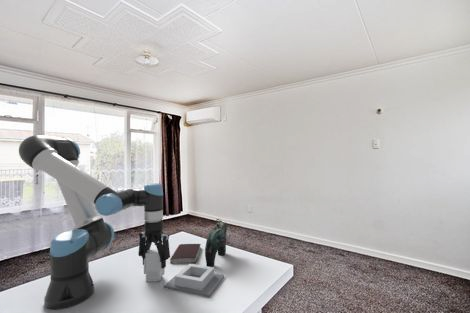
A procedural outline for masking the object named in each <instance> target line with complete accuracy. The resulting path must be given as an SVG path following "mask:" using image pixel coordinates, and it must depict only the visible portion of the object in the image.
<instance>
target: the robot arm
mask: <svg viewBox="0 0 470 313" xmlns="http://www.w3.org/2000/svg"><path fill="white" fill-rule="evenodd" d="M18 146H19V147H18V155H19V157H20V159H21V160H22V161H23V162H24V163H25V164H26V165H28V166H29V167H30V168H32V169H34V170H36V171H41V172H44V173H45V174H46V175H48V176H50V177H52V178H54V179H55V180H56V181H57V182H56V183H57V184H58V187H59V189H60V191H61V194H62V197H63V199H64V201H65V204H66V206H67V209H68V211H69V214H70V216H71V219H72V220H73V222H74V226H73V228H72V229H71V230H69V231H64V232H61V233H59V234H57V235H56V236H55V237H54V238H53V239H52V240H51V242H50V249H49V254H50V255H49V257H50V258H49V263H50V264H49V265H50V268H49V269H50V281H49V285H48V286H47V287H48V288H47V290H46V293H45V295H44V301H43V302H44V304H43V305H44V307H45V308H46V309H48V310H49V309H50V310H62V309H65V308H70V307H73V306H75V305H78V304H81V303H83V302H84V301H86V300H87V299H89V298H90V297H91V296H92V295H94V292H95V283H94V281H93V278H92V276H91V274H90V269H89V267H90V265H89V262H90V259H92V258H93V257H95V256H96V255H98V254H100V253H101V252H103V251H105V250H106V249H107V248H108V247H110V246H111V244H112V243H113V241H114V238H115V229H114V227H113V225H111V224H110V223H108V222H105V220H104V218H103V217H102V216H105V217H107V216H111V215H116V214H117V213H119V212H122V211H124V210H127V209H129V208H132V207H143V210H144V211H143V212H144V214H143V216H144V217H143V220H144V231H142V232H139V233H138V236H139V244H138V245H139V246H138V256H139V257H141V258H142V266H143V274H144V275H146V258H145V254H146V252H147V251H148V250H151V247H152V243H154V246H156V249H157V250H158V253H159V256H160V261H159V277H161V276H162V277H163V276H164V275H165V272H166V271H165V268H167V263H166V262H167V260H168V259H169V260H170V259H171V252H170V243H169V239H170V235H169V234H164V232H163V228H164V220H163V219H164V214H163V213H164V191H163V189H164V188H163V185H162V184H161V183H157V182H156V183H154V182H153V183H145V184H144V186H143V188H128V187H124V188H119V189H117V190H113V188H111V187H109V186H107V185H106V184H104V183H103V182H101V181H100V180H98V179H97V178H96V177H93V176H92V175H90V174H89V173H87V172H86V171H84V170H83V169H80V168H79V167H78V166H79V163H80V161H79V158H80V154H81V150H80V146H79V145H78V144H77V142H76V141H74V140H72V139H70V138H67V137H65V136H57V137H56V136H51V135H50V136H49V135H44V134H43V135H41V134H36V135H31V136H29V137H26V138H25V139H24V140H22V142H21V143H20V144H19V145H18ZM93 204H94V205H95V206H94V205H93ZM96 211H97V212H96ZM97 213H98V214H99V215H98V214H97ZM100 215H101V216H100Z"/></svg>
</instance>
